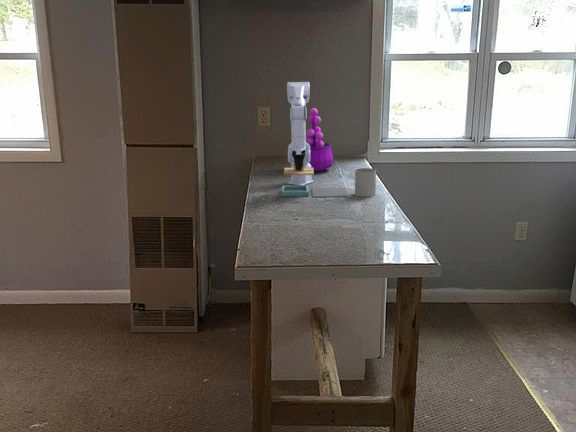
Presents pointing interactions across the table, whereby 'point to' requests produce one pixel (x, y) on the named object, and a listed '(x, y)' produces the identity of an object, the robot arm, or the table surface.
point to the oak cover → (299, 172)
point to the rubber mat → (329, 192)
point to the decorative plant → (318, 145)
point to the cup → (365, 182)
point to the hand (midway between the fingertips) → (299, 169)
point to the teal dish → (295, 191)
